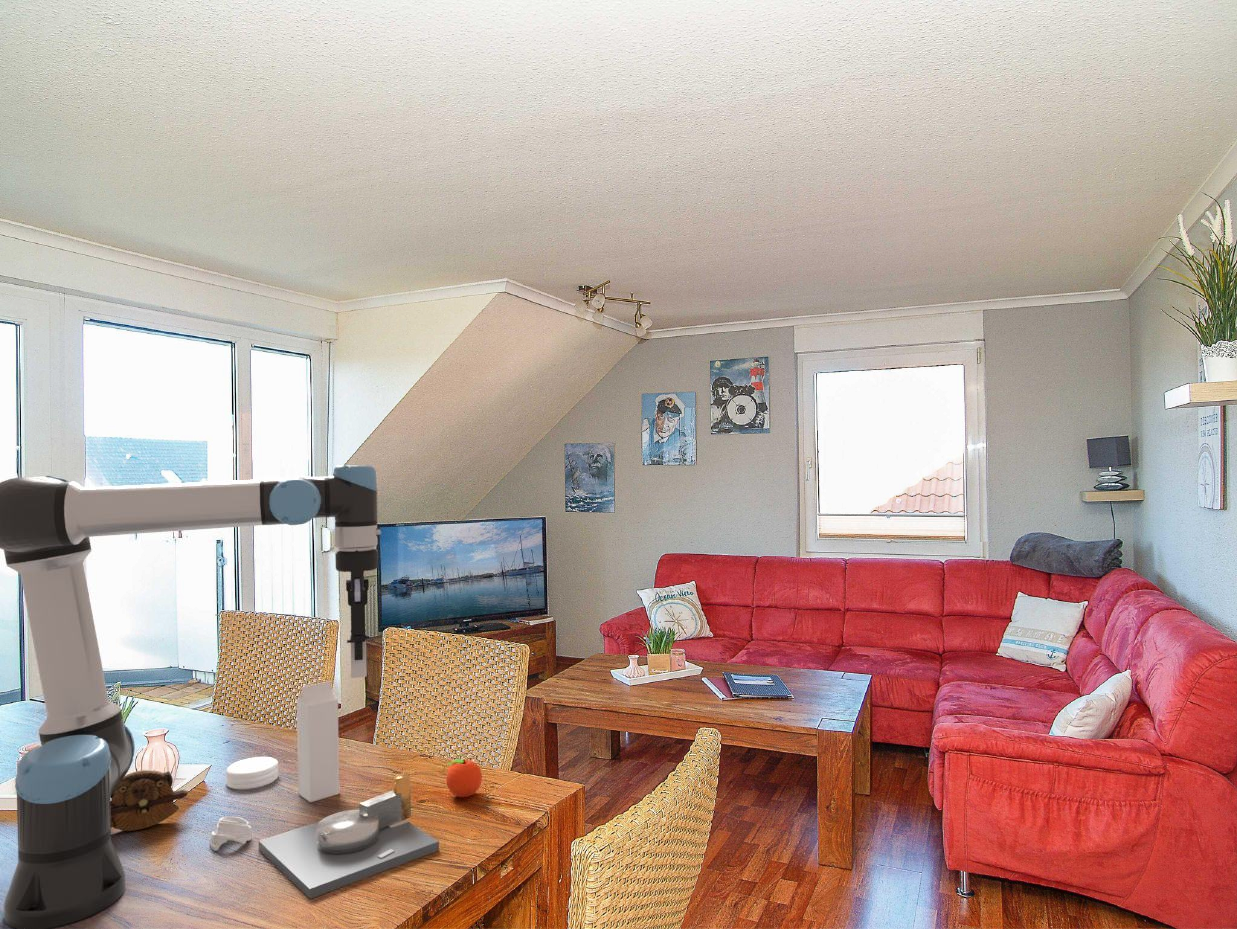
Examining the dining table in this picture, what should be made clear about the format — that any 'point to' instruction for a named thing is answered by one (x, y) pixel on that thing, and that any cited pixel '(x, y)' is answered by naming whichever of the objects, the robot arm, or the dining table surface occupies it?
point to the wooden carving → (143, 800)
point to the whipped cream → (230, 831)
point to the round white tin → (252, 773)
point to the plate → (343, 856)
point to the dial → (365, 820)
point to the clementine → (463, 778)
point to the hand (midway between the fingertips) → (358, 676)
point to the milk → (317, 742)
